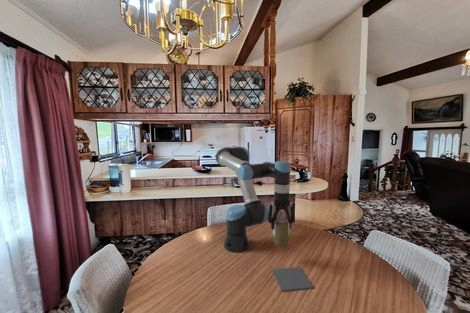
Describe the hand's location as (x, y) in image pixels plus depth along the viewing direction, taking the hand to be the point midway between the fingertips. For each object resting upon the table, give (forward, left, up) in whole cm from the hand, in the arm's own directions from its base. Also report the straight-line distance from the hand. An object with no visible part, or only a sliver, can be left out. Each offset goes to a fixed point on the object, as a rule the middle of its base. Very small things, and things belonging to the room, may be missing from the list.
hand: (280, 234), depth 111 cm
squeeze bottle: (0, 0, -6) cm, 6 cm away
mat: (0, -14, -14) cm, 20 cm away
